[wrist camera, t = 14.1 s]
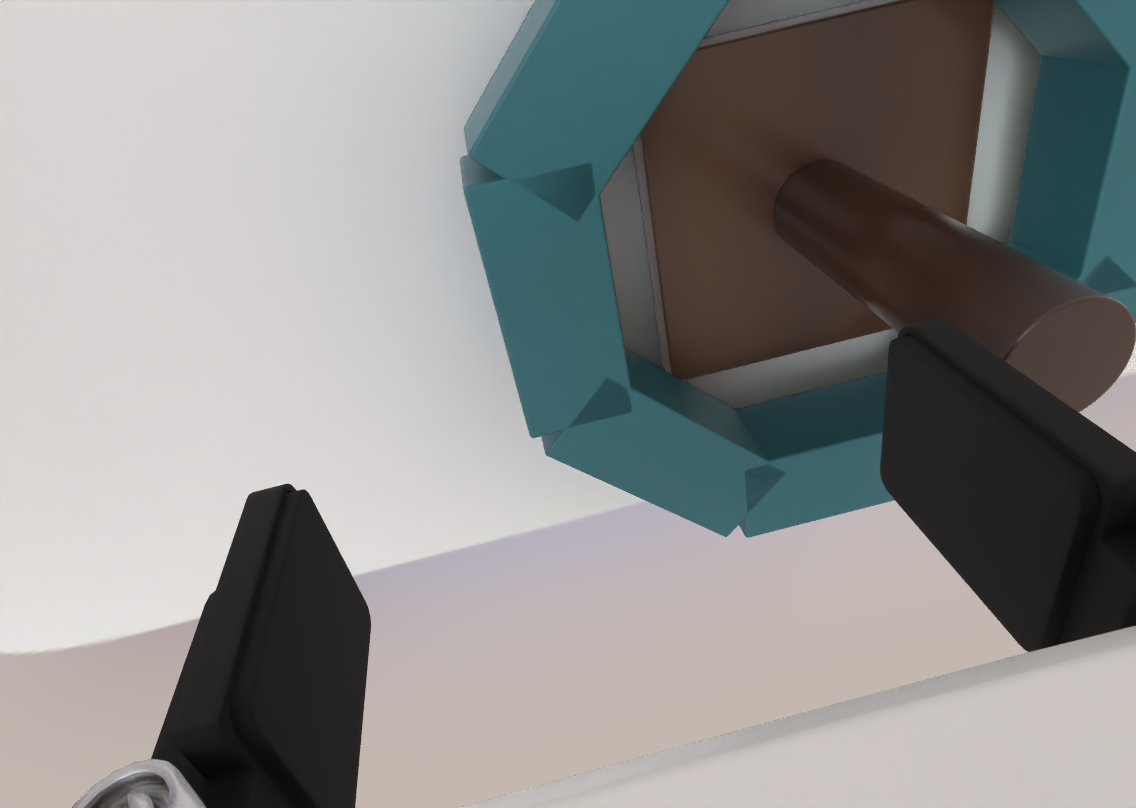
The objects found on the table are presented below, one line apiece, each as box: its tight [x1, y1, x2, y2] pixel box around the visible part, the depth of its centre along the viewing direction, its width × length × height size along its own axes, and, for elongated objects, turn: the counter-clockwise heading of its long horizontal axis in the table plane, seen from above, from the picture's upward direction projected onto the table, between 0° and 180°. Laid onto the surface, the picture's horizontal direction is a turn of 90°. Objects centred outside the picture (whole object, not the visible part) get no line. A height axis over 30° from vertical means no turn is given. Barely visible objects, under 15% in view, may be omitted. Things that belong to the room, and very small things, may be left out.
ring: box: [460, 0, 1136, 537], centre depth 18 cm, size 18×18×3 cm
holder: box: [633, 0, 1136, 412], centre depth 16 cm, size 9×9×10 cm
